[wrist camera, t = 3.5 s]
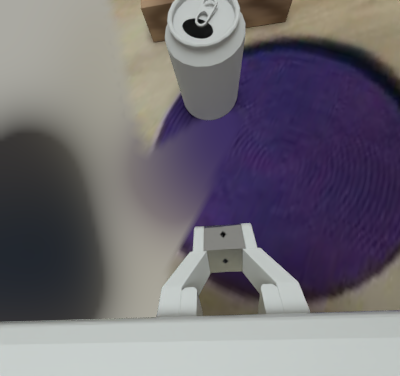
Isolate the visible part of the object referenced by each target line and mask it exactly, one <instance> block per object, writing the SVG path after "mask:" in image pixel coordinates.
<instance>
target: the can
mask: <svg viewBox="0 0 400 376" xmlns="http://www.w3.org/2000/svg"><path fill="white" fill-rule="evenodd" d="M167 23H168V24H167V26H166V30H165V41H166V45H167V49H168V52H169V55H170V58H171V62H172V65H173V68H174V71H175V75H176V78H177V81H178V85H179V88H180V91H181V94H182V98H183V101H184V104H185V107H186V108H187V110H188V111H189V113H190V114H192V115H193V116H195V117H196V118H199V119H202V120H215V119H218V118H221V117H223V116H224V115H226V114H228V113H229V112H230V110H231V109H232V108H233V107H234V105H235V102H236V100H237V93H238V86H239V78H240V71H241V63H242V55H243V48H244V40H245V24H246V23H245V21H244V18H243V15H242V13H241V12H240V6H239V4H238V1H237V0H175V1H174V2H173V3H172V5H171V7H170V9H169V11H168V18H167Z"/></svg>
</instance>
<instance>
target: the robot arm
mask: <svg viewBox="0 0 400 376" xmlns="http://www.w3.org/2000/svg"><path fill="white" fill-rule="evenodd" d="M237 271H243V273H244V274H245V276H246V277H247V278H248V279H249V281H250V282H251V283H252V285H253V286H254V287H255V289H256V290H257V291H258V292H259V294H260V298H259V307H258V314H251V315H217V316H203V312H202V308H201V304H200V300H199V294H200V292H201V290H202V289H203V287H204V285H205V283H206V281H207V279H208V277H209V276H210V273H216V272H237ZM0 376H400V310H387V311H354V312H320V313H311V312H310V310H309V307H308V305H307V302H306V300H305V297H304V295H303V292H302V290H301V287H300V285H299V282H298V281H297V280H296V279H294V278H293V277H292V276H291V275H290V274H289V273H288V272H287V271H286V270H284V269H283V268H282V267H281V266H280V265H279V264H278V263H277V262H275V261H274V260H273V259H272V258H271V257H270V256H269V255H268V254H267V253H265V252H264V251H263V250H262V249H261V248H257V245H256V241H255V237H254V233H253V230H252V226H251V224H250V223H243V224H231V225H219V226H202V227H195V228H194V239H193V252H190V253H189V254H188V255H187V256H186V258H185V259H184V260H183V261H182V263H181V264H180V265H179V267H178V268H177V269H176V270H175V272H174V273H173V274H172V275H171V277H170V278H169V279H168V281H167V282H166V283H165V284H164V286H163V287H162V290H161V295H160V301H159V306H158V311H157V317H151V318H119V319H84V320H54V321H16V322H0Z"/></svg>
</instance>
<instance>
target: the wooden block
mask: <svg viewBox="0 0 400 376" xmlns="http://www.w3.org/2000/svg"><path fill="white" fill-rule="evenodd" d="M174 1H175V0H141V10H142V12H143V15H144V18H145V20H146V23H147V26H148V28H149V31H150V34H151V36H152V39H153V42H158V41H165V30H166V26H167V24H168V23H167V18H168V11H169V9H170V7H171V5H172V3H173V2H174ZM237 1H238V4H239V6H240V12H241V13H242V15H243V18H244V21H245V23H246V24H245V28H247V27H254V26H260V25H267V24H273V23H279V22H285V21H286V18H287V15H288V12H289V9H290V6H291V3H292V0H237Z"/></svg>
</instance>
